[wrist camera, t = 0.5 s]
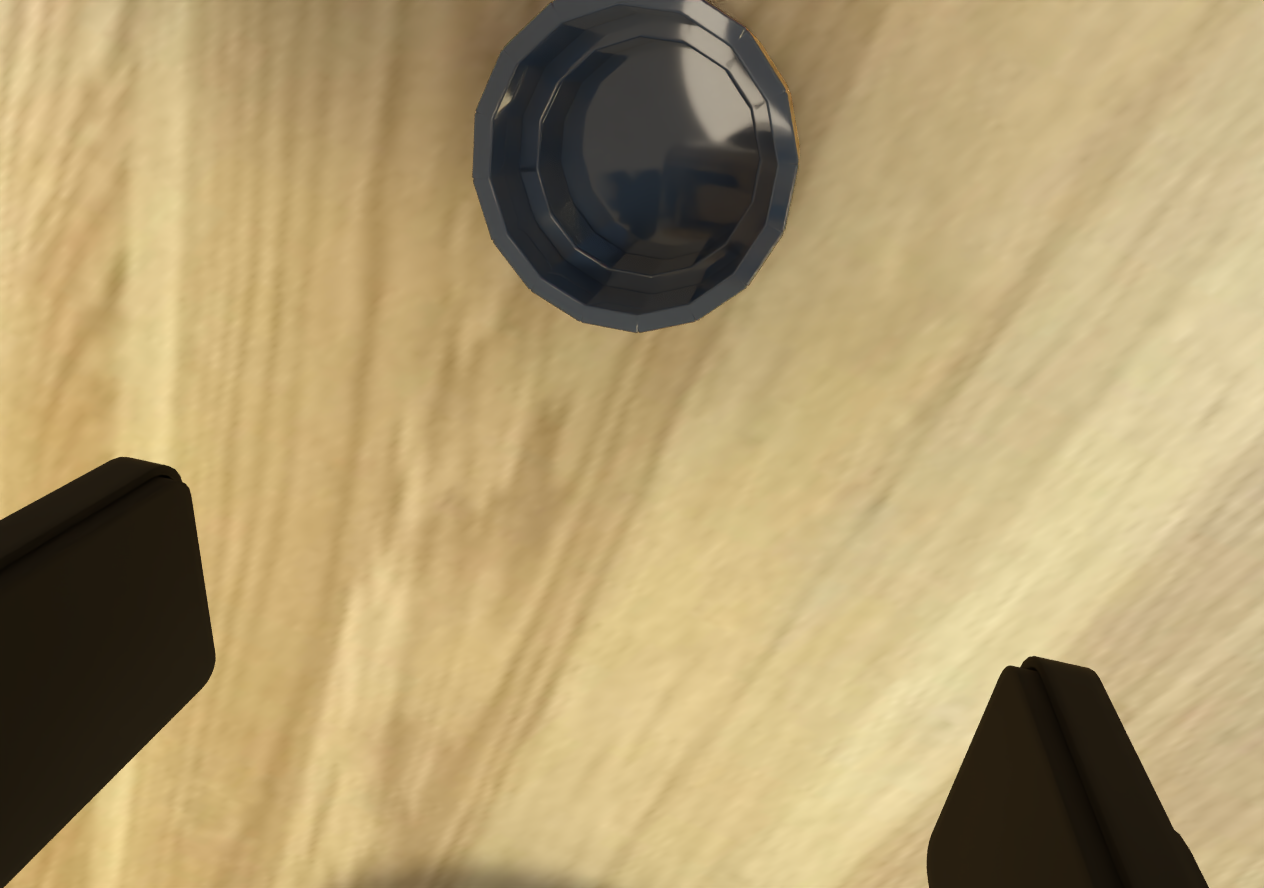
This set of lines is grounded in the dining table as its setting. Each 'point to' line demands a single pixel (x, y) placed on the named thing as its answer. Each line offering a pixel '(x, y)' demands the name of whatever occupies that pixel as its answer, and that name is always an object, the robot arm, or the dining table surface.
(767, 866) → the dining table surface
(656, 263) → the bowl
